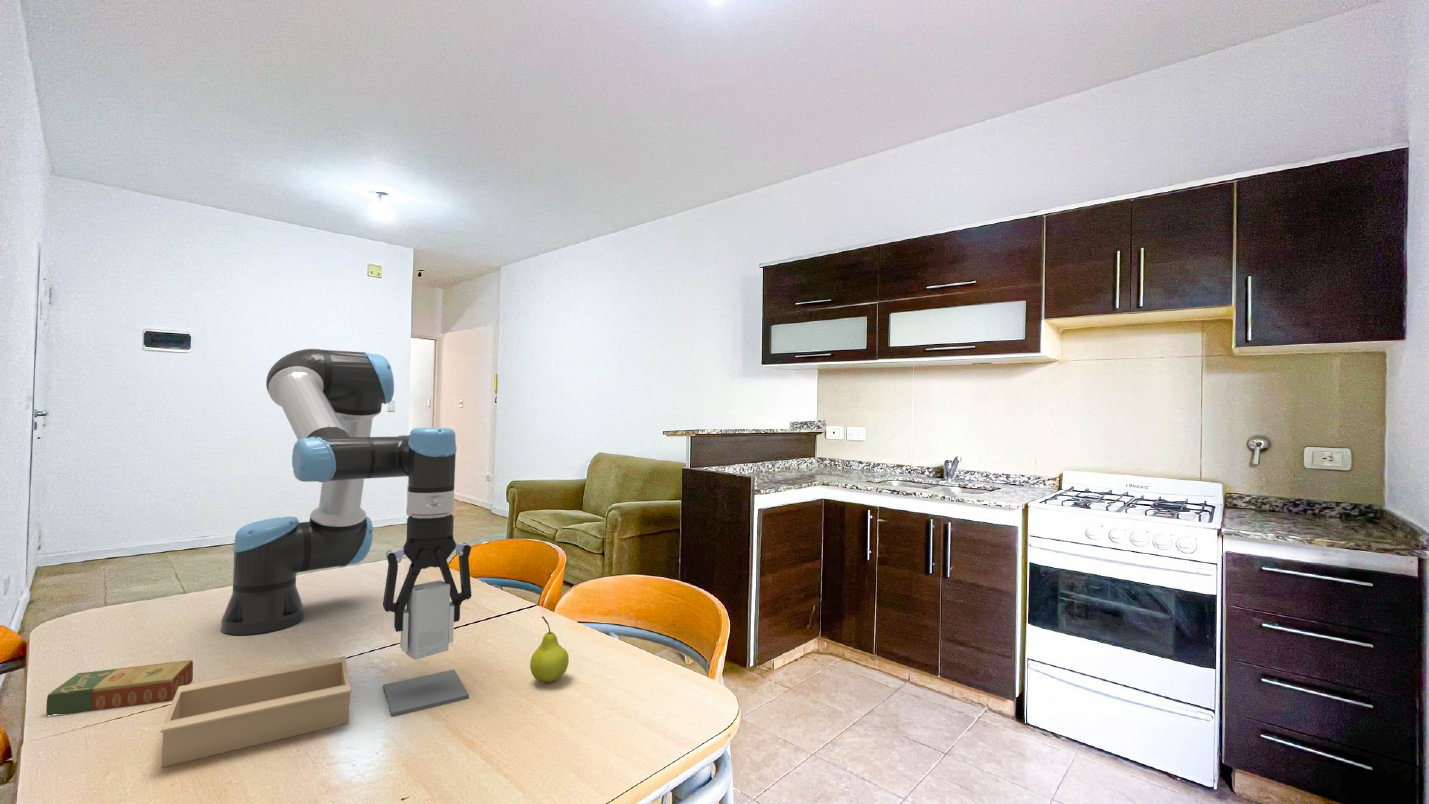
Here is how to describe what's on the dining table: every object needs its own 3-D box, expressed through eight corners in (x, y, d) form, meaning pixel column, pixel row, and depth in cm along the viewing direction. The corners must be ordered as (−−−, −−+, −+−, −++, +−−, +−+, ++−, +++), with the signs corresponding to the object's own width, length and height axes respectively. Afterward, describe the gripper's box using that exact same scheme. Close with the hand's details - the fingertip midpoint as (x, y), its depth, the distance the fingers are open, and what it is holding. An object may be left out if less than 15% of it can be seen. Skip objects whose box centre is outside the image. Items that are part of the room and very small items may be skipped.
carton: (172, 703, 101) (172, 678, 101) (44, 720, 95) (44, 693, 95) (193, 681, 109) (193, 658, 109) (75, 696, 103) (76, 671, 103)
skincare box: (437, 644, 110) (440, 578, 110) (449, 651, 107) (452, 583, 108) (402, 654, 105) (405, 585, 106) (414, 661, 103) (416, 590, 103)
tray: (177, 724, 94) (178, 686, 94) (343, 690, 107) (344, 656, 107) (158, 774, 82) (160, 730, 82) (349, 728, 94) (350, 690, 94)
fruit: (575, 677, 114) (577, 613, 114) (554, 692, 108) (556, 625, 108) (544, 671, 116) (546, 608, 117) (522, 686, 110) (524, 620, 110)
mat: (383, 687, 108) (383, 684, 108) (454, 672, 115) (454, 669, 115) (391, 716, 98) (391, 713, 98) (468, 698, 105) (469, 694, 105)
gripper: (369, 522, 98) (365, 664, 98) (493, 513, 109) (489, 640, 109) (365, 515, 104) (361, 648, 104) (482, 507, 115) (479, 627, 115)
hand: (427, 644), depth 106 cm, fingers closed on skincare box, 7 cm apart
